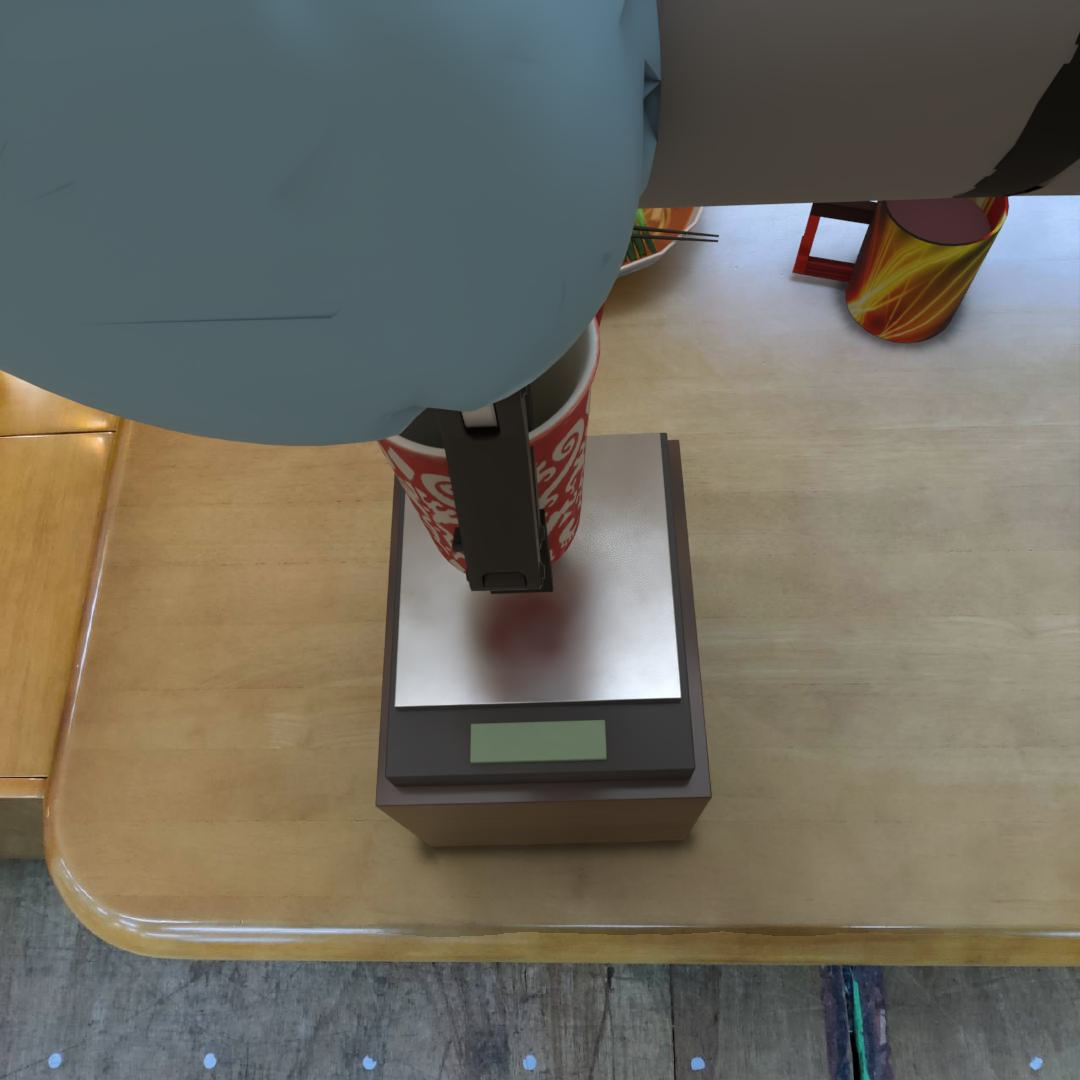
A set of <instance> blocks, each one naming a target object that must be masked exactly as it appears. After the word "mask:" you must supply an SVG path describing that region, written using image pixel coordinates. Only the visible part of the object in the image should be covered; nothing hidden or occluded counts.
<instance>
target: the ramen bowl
mask: <svg viewBox="0 0 1080 1080" xmlns="http://www.w3.org/2000/svg"><path fill="white" fill-rule="evenodd" d="M704 208H705V207H678V208H648V209H637V213H636V218H635V222H634V226H633V231H632V235H631V239H630V242H629V246H628V249H627V252H626V255H625V258H624V260H623V263H622V266H621V269H620V272H619V274H618V276H617V278H616V280H617V279H619V278H622V277H624V276H627V275H630V274H632V273H635V272H638V271H640V270H643V269H645V268H648V267H650V266H652V265H654V264H655V263H656V262H658V261H659V260H660V259H661V258H662V257H663V256H664V255H666V253H668V252H669V251H670V250H671V249H672V248H673V247H674V246H676V244H678V243H679V242H681V241H682V242H702V243H703V242H704V243H719V239H712V238H720V235H719V234H713V233H705V232H697V231H696V232H695V231H691V230H692V229H693V228H694V227H695V226H696V224H697V223H698V221H699V219H700V217H701V215H702V213H703V210H704ZM686 235H687V236H699V237H708V238H709V237H711V239H710V238H709V239H708V238H696V237H685V236H686Z"/></svg>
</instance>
